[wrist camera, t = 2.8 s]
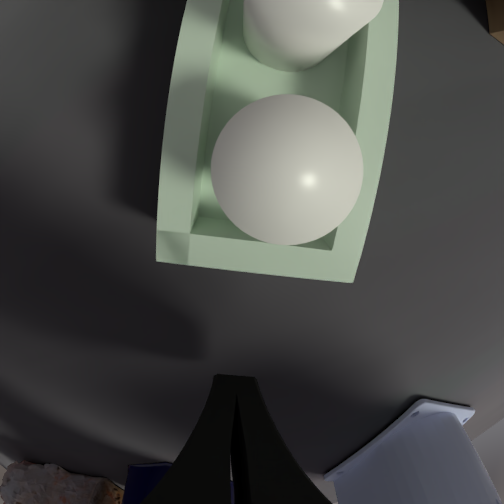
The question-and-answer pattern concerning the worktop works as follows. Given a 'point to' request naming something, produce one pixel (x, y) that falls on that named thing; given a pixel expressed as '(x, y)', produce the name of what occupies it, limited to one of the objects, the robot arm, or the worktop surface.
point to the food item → (55, 486)
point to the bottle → (147, 481)
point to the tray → (226, 95)
